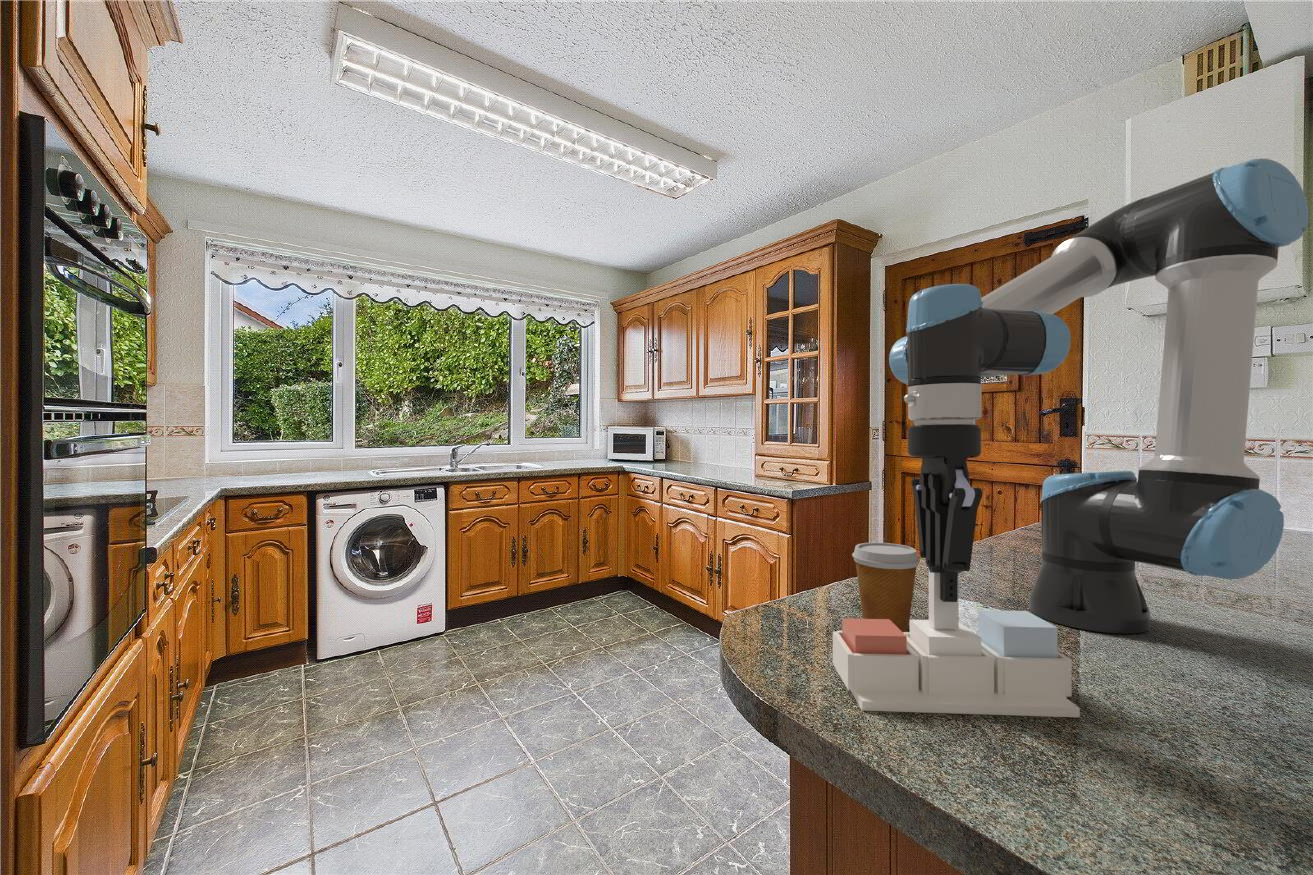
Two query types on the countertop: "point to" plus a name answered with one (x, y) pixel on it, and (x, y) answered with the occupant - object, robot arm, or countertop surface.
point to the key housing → (956, 682)
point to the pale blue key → (1017, 634)
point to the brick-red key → (873, 636)
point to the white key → (944, 640)
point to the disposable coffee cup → (886, 581)
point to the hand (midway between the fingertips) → (943, 626)
